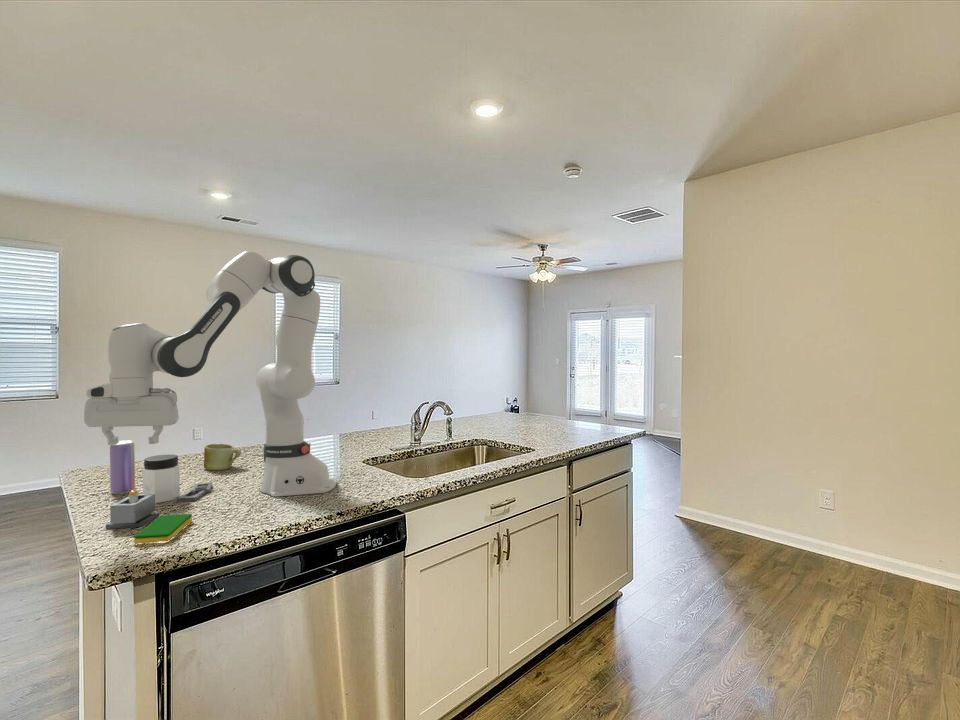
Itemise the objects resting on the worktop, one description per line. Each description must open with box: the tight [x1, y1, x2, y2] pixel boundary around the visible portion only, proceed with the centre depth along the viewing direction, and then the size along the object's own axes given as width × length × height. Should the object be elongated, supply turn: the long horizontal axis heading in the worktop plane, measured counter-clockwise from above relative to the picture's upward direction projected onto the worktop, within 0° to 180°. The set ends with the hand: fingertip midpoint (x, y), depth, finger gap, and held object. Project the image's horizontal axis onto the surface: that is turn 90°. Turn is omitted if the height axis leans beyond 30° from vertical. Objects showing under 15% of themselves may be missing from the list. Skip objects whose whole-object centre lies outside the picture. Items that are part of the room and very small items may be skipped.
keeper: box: [105, 490, 160, 529], centre depth 121 cm, size 8×8×8 cm
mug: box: [203, 443, 242, 471], centre depth 174 cm, size 12×10×10 cm
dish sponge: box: [133, 513, 193, 544], centre depth 115 cm, size 7×14×2 cm, turn 11°
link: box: [109, 493, 156, 524], centre depth 121 cm, size 5×9×4 cm, turn 6°
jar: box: [142, 454, 181, 504], centre depth 139 cm, size 9×8×12 cm
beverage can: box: [109, 440, 136, 495], centre depth 146 cm, size 6×6×15 cm
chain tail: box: [176, 482, 213, 502], centre depth 145 cm, size 7×16×2 cm, turn 7°
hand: (133, 443), depth 121 cm, fingers open, 8 cm apart
